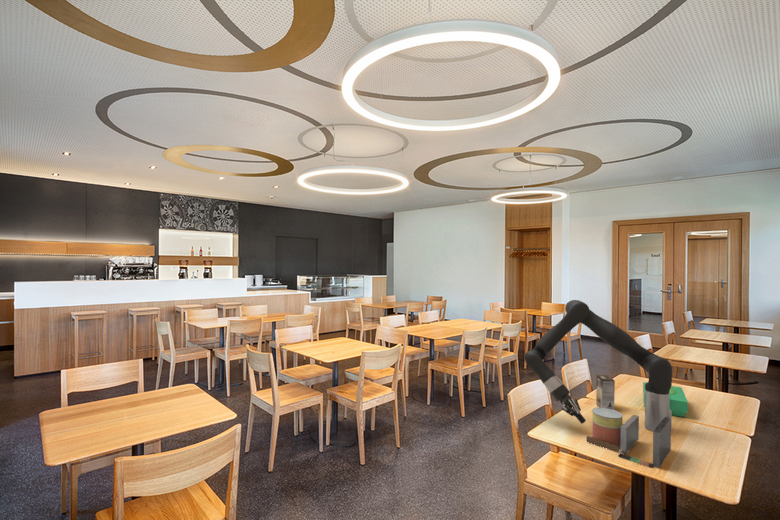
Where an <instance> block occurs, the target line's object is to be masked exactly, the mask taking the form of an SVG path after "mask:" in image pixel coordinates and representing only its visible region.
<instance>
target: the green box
mask: <svg viewBox="0 0 780 520" xmlns="http://www.w3.org/2000/svg"><path fill="white" fill-rule="evenodd" d="M647 382H648V381H647ZM647 382H646V381H643V382H642V384H643V385H642V393H643V407H644V408H645V384H646V383H647ZM687 399H688V398H687V397H686V394H685V392H684V390H683V387H681V386H674V385H672V386H671V388H670V391H669V410H671V411H672V416H674V417H680V418H686V416H687V415H686V413H687V414H688V413H689V401H688V400H687Z"/></svg>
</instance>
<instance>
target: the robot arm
mask: <svg viewBox="0 0 780 520" xmlns="http://www.w3.org/2000/svg"><path fill="white" fill-rule="evenodd" d="M564 308H565V310H564V311H565V315H564V316H563V317H562V318H561V320H559V322H558V323H556V324H555V325H554V326H552V327H551V328H550V329H549V330H547V331H546V332H545V333H544V334H543V335H542V337H540V339H538V341H537V343H536V345H535V346H534V347H533V348H532V350H528V351H526V352H525V353H524V356H523V360H524V361H525V363H526V365H527V366H528V367H529V368H530V369H531V370H532V371H533V372H534V373H535V374H536V376H537V377H538V378H539V380H540V381H541V382H542V384H543V385H544V386H545V388H546V390H547V391H548V392H549V393H550V395H551V396H552V397H553V398H554V400H555V401H556V402H558V401H559V403H560V404H561V405H562V407H561V410H562V411H563V412H565V413H567V414H568V415H570V416H571V417H575V418H576V419H577V420H578V422H579V423H580V424H584V423H586V421H587V420H586V418H585V417H584V416H583V415H582V413H581V411H582V409H581V407H580V404H579V401H578V400H577V399H576V398H575V399H573V398H572V396H571V395H569V394H570V393H571V391H570V390H569V388H568V387H567V386H566V385H565V384H564V382H563V381H562V380H561V379H560V378H559V377H558V376H557V375H556V374H555V372H554V371H553V370H552V369H551V367H549V366H548V365H547V364H546V363H545V362H544V360H545V358H546V357H547V356H548V355H549V353H550V352H551V351H552V350H553V349H554V348H555V347H556V346H557V345H558V344H559V342H560V341H562V339H563V338H564V337H565V336H566V335H568V333H569V332H570V331H572V330H573V329H574V328H575V327H576V326H579V324H582V325H583V326H585V327H586V328H588V329H589V330H590V331H591V332H592V333H593V334H595V335H596V336H597V337H598V338H600V339H601V340H602V341H604V343H606V344H608V346H610V347H611V348H613V349H615V350H616V351H617V352H620V353H621V354H623V355H626V356H627V357H629V358H630V359H631V360H633V361H634V362H636V364H638V365H639V366H640V367H641V368H642V369H643V370H644V371H646V372H647V373H648V381H647V383H646V384H645V407H644V428H645V429H647V430H648V431H652V432H653V431H654V430H655V429H656V427H657V426H658V425H659V424H660V422H661V421H662V420H663V419H664V418H665V417H667V418H671V422H672V420H673V419H672V416H673V415H672V411H671V410H669V391H670V388H671V386H673V382H672V381H673V366H672V364H671V362H670V361H669V360H668V359H666V358H664V357H662V356H659V355H657V354H655V353H653V352H652V351H650V350H648V349H646V348H645V347H644V346H642V345H641V344H639V343H638V342H637V341H636V340H635V339H634V338H633V336H631V335H630V334H628V333H627V332H626V331H625V330H623V329H622V328H620V327H619V326H617V325H616V324H614V323H613V322H610V321H609V320H607V319H605V318H603V317H601V316H599V315H597V314H596V313H595V312H594V311H592V310H591V309H590V307H589V306H588V304H587V303H585V302H583V301H581V300H577V299H572V300H570V301H568V302H566V304H565V307H564Z"/></svg>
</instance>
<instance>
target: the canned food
mask: <svg viewBox="0 0 780 520" xmlns="http://www.w3.org/2000/svg"><path fill="white" fill-rule="evenodd" d="M591 411H592V426H591V427H592V430H591V431H592V433H591V435H592V436H591V437H594V438H597V439H600V440H603V441H606V442H610V443H613V444H616V445H619V448H620V447H621V426H622V425H623V417H624V415H623V414H622V413H621V412H620V411H618V410H615V409H614V410H612V409H608V408H599V407H595V408H592V410H591Z"/></svg>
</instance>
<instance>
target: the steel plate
mask: <svg viewBox="0 0 780 520" xmlns="http://www.w3.org/2000/svg"><path fill="white" fill-rule="evenodd" d="M639 419H640V416H639V415H636V414H632V415H631V416H630V417H629V418H628V419H627V420H625V422H624V423H622V426H621V446H620V447H619V452H617V453H618V454H617V455H619V454H625V455H627V454H628V452H629V451H630V450H631V449H632V448H633V447H634V446H635V444H637V442H638V441H639V437H640V436H639V435H640V433H639V431H640V430H639V429H640V423H639V422H640V421H639Z"/></svg>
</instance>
